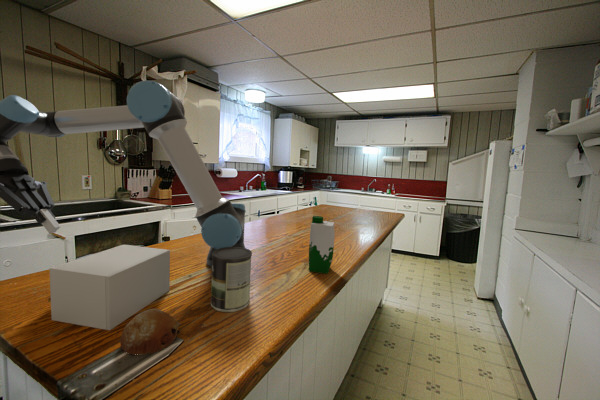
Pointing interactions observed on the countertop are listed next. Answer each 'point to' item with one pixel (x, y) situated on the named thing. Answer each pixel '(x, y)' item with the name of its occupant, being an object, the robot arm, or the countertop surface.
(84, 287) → the plain grey box
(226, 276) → the coffee can
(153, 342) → the bread roll
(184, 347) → the countertop surface
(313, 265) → the milk carton
